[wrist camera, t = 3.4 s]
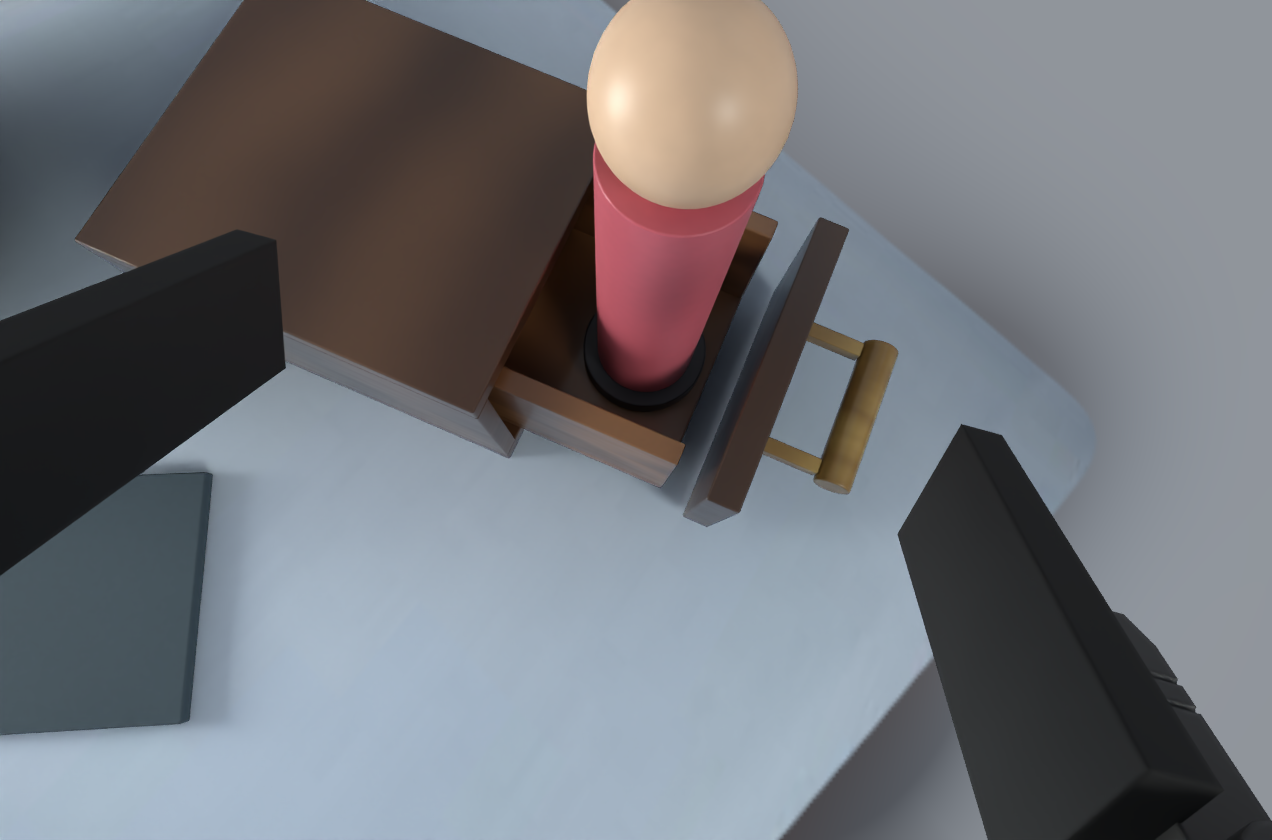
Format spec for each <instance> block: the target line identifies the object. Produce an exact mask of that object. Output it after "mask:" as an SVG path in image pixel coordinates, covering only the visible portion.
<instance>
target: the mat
mask: <svg viewBox="0 0 1272 840" xmlns="http://www.w3.org/2000/svg"><path fill="white" fill-rule="evenodd" d="M212 477H213V475H212V474H209V473H205V472H200V473H175V474H151V475H138V476H137V477H135V478H134V479H133V480H131V481H130V482H128V483H127V484H126V485H124V486H123V487H122V488H120V489H119V490H117V491H116V492H115V493H113V494H112V495H111V496H109V497H108V498H106V499H105V500H104V501H102V502H101V503H100V504H98V505H97V506H95V507H94V508H93V509H91V510H90V511H89V512H87V513H86V514H84V515H83V516H82V517H80V518H79V519H78V520H76V521H75V522H73V523H72V524H71V525H69V526H68V527H67V528H65V529H64V530H62V531H61V532H60V533H58V534H57V535H56V536H54V537H53V538H52V539H50V540H49V541H47V542H46V543H45V544H43V545H42V546H41V547H39V548H38V549H36V550H35V551H34V552H32V553H31V554H30V555H28V556H27V557H25V558H24V559H23V560H21V561H20V562H19V563H17V564H16V565H14V566H13V567H12V568H10V569H9V570H8V571H6V572H5V573H3V574H2V575H1V576H0V735H10V734H26V733H42V732H58V731H75V730H91V729H107V728H123V727H139V726H155V725H172V724H181V723H184V722H187V721H189V718H190V708H191V697H192V687H193V676H194V666H195V655H196V645H197V634H198V624H199V613H200V603H201V592H202V582H203V571H204V561H205V550H206V540H207V529H208V519H209V508H210V498H211V487H212Z"/></svg>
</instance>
